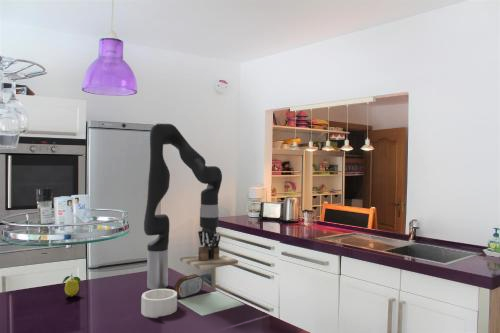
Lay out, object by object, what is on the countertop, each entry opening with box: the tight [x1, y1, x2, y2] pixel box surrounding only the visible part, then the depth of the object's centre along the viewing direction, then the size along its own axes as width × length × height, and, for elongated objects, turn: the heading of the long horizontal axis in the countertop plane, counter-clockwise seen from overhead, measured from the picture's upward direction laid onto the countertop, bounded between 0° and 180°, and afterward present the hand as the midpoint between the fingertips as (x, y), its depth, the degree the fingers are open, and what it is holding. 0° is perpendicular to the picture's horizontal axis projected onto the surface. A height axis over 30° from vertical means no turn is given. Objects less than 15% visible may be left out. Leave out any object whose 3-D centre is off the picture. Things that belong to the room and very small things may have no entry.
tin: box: [173, 273, 204, 299], centre depth 170 cm, size 15×3×8 cm, turn 141°
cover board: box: [179, 245, 239, 271], centre depth 160 cm, size 17×17×6 cm
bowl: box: [140, 288, 178, 319], centre depth 152 cm, size 13×13×6 cm
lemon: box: [61, 274, 82, 297], centre depth 167 cm, size 7×6×10 cm
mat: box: [177, 290, 245, 317], centre depth 160 cm, size 20×20×1 cm
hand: (208, 257), depth 160 cm, fingers closed on cover board, 3 cm apart
